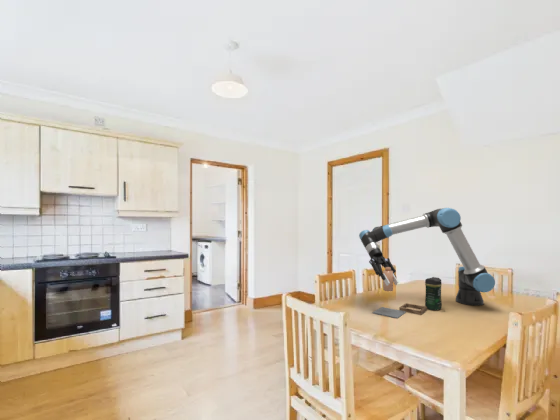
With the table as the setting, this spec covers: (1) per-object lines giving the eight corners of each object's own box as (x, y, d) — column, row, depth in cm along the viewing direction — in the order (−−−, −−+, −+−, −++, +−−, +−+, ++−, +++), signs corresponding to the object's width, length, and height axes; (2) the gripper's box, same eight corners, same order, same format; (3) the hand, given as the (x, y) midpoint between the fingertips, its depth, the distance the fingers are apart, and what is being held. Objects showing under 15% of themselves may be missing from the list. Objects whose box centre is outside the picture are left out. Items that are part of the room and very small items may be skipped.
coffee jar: (437, 311, 175) (436, 279, 176) (423, 308, 181) (422, 277, 182) (443, 308, 182) (443, 277, 182) (430, 305, 188) (429, 275, 188)
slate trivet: (405, 312, 174) (405, 311, 174) (397, 318, 163) (397, 317, 163) (382, 307, 183) (382, 306, 183) (372, 313, 172) (372, 312, 172)
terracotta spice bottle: (394, 290, 174) (394, 267, 174) (391, 291, 170) (390, 268, 170) (385, 288, 177) (385, 266, 177) (381, 290, 173) (381, 267, 174)
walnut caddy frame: (427, 310, 178) (427, 306, 178) (421, 315, 169) (421, 311, 169) (406, 306, 186) (406, 303, 186) (399, 310, 177) (399, 307, 177)
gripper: (383, 254, 191) (402, 286, 175) (359, 255, 185) (376, 288, 169) (389, 247, 187) (409, 279, 171) (364, 248, 181) (382, 281, 165)
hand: (392, 283), depth 170 cm, fingers closed on terracotta spice bottle, 5 cm apart
